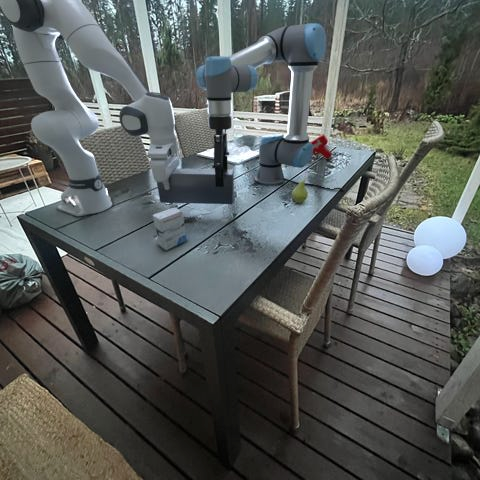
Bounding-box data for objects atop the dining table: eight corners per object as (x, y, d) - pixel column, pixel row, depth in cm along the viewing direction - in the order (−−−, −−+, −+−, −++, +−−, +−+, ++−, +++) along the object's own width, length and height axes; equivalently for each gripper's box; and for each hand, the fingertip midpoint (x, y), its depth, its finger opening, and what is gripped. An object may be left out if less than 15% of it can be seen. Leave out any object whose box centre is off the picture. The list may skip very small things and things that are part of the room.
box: (233, 197, 104) (233, 169, 98) (232, 204, 99) (232, 174, 93) (164, 196, 106) (160, 168, 100) (160, 202, 101) (155, 173, 95)
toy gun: (335, 153, 174) (324, 133, 170) (335, 155, 171) (323, 134, 167) (310, 168, 184) (299, 149, 180) (310, 170, 181) (298, 151, 177)
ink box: (179, 235, 98) (174, 206, 91) (187, 241, 95) (183, 210, 88) (158, 245, 93) (151, 214, 86) (165, 250, 90) (159, 219, 83)
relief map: (237, 164, 168) (237, 156, 165) (197, 155, 185) (196, 147, 183) (261, 154, 186) (262, 147, 183) (222, 147, 204) (222, 140, 201)
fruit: (288, 200, 123) (290, 174, 116) (302, 197, 125) (305, 172, 119) (296, 206, 118) (299, 179, 111) (310, 203, 120) (314, 177, 114)
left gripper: (164, 139, 101) (169, 175, 109) (145, 154, 84) (153, 196, 92) (181, 139, 101) (185, 175, 108) (165, 154, 84) (171, 196, 91)
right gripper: (213, 109, 97) (216, 168, 108) (201, 121, 76) (206, 192, 87) (234, 110, 96) (235, 168, 108) (227, 121, 75) (229, 193, 87)
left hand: (170, 185), depth 100 cm, fingers closed on box, 6 cm apart
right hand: (222, 179), depth 97 cm, fingers open, 13 cm apart
